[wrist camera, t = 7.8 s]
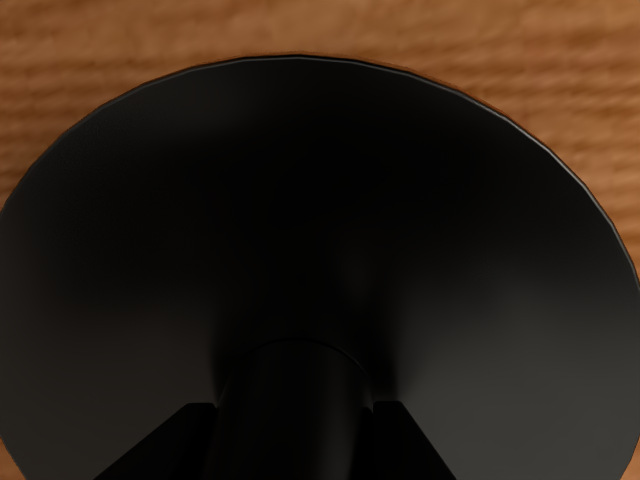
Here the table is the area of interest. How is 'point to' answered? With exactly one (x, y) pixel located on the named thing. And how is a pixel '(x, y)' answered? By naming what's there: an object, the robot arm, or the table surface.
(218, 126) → the lid
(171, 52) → the table surface
